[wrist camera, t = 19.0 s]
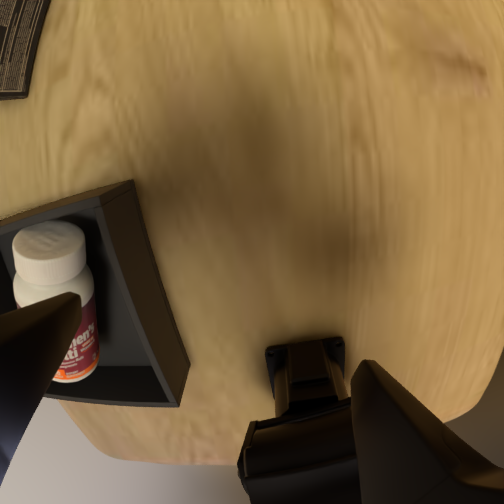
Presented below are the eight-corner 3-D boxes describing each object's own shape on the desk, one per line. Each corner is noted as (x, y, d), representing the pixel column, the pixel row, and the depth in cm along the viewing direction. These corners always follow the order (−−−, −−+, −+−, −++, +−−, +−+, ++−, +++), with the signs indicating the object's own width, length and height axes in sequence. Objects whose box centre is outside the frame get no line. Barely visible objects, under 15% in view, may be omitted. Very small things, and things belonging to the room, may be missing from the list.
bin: (190, 364, 26) (179, 407, 21) (54, 364, 28) (33, 395, 23) (133, 178, 20) (98, 195, 15) (-8, 223, 22) (-44, 243, 17)
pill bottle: (56, 397, 18) (19, 279, 13) (23, 346, 21) (-5, 230, 15) (115, 363, 23) (110, 247, 18) (78, 320, 26) (69, 209, 20)
